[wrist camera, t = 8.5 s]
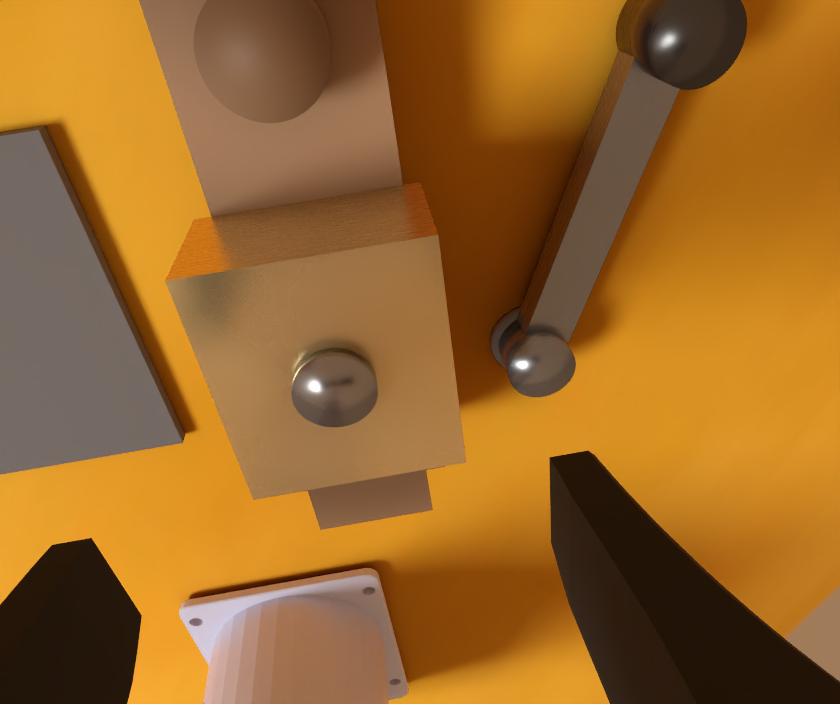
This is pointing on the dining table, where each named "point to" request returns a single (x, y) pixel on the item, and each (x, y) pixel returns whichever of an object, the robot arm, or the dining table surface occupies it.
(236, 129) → the plane body
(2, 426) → the mat
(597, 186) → the lever
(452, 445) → the wooden block
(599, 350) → the dining table surface
